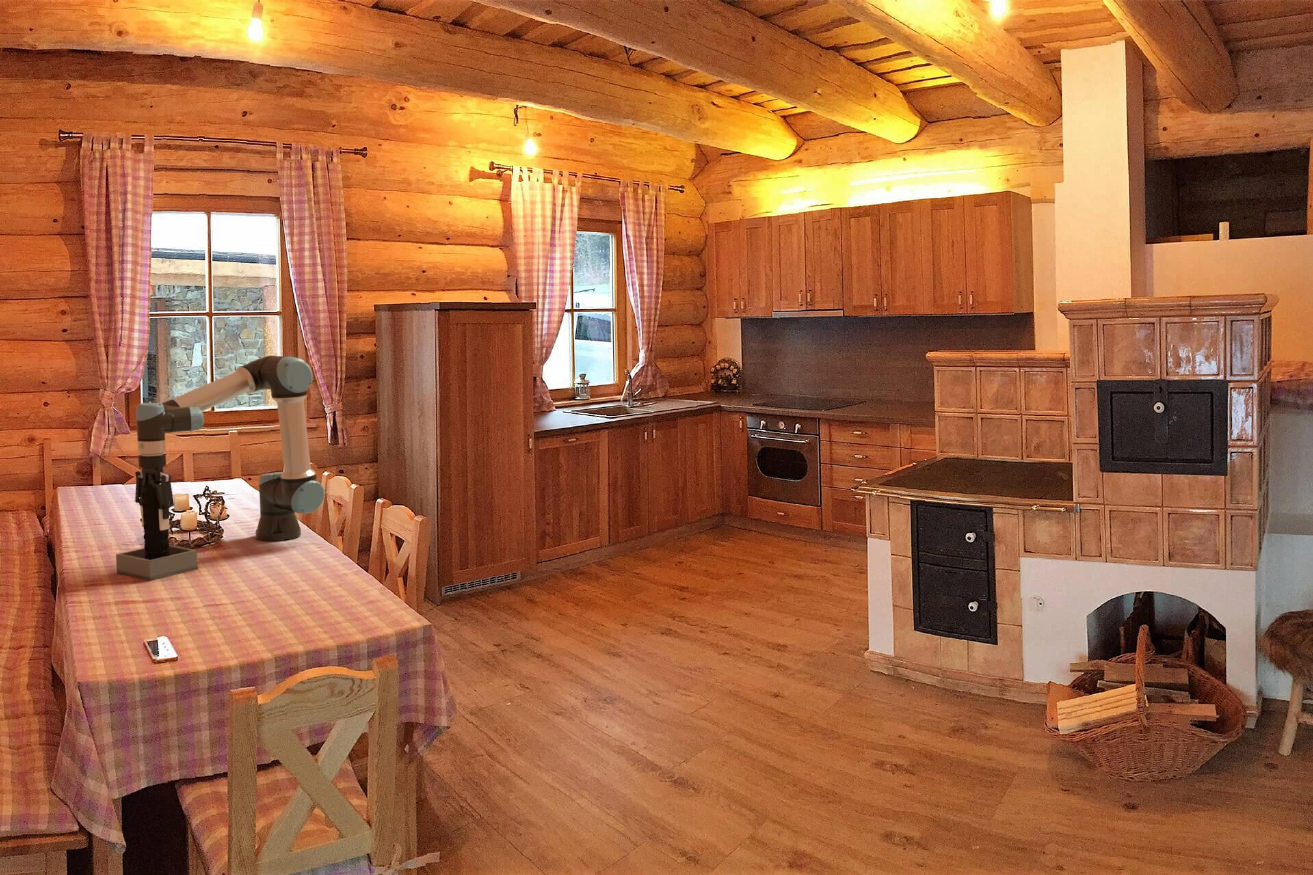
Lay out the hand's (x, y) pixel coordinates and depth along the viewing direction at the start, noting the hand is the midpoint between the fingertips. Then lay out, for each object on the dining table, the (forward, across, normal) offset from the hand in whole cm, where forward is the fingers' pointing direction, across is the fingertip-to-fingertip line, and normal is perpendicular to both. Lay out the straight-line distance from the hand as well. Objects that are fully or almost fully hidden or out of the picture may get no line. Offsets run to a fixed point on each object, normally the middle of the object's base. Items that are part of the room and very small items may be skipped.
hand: (155, 527), depth 309 cm
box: (+14, 0, 0) cm, 14 cm away
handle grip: (+13, 0, 0) cm, 13 cm away
